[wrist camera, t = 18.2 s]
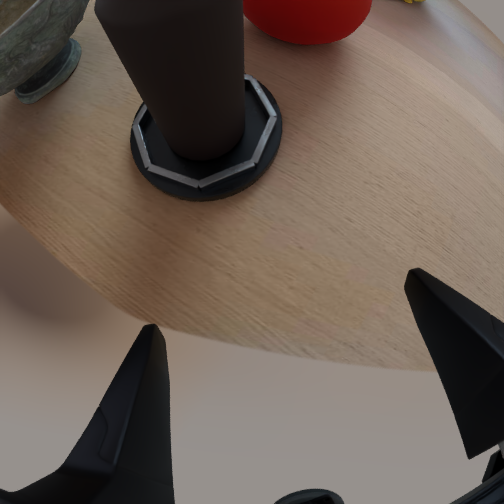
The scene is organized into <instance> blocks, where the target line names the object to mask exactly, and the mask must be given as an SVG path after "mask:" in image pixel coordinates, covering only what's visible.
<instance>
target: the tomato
mask: <svg viewBox="0 0 504 504" xmlns="http://www.w3.org/2000/svg"><path fill="white" fill-rule="evenodd" d="M371 4H372V0H243V13H244V15H245V16H246V17H247V18H248V19H249V20H250V21H251V22H252V23H253V24H254V25H256V26H257V27H258V28H259V29H261V30H262V31H263V32H265V33H267V34H269V35H270V36H272V37H275V38H277V39H280V40H283V41H287V42H290V43H295V44H302V45H315V44H324V43H331V42H335V41H338V40H341V39H343V38H345V37H347V36H348V35H350V34H351V33H353V32H354V31H355V30H356V29H357V28H358V27H359V26H360V25H361V24H362V22H363V21H364V20H365V19H366V17H367V15H368V13H369V11H370V8H371Z"/></svg>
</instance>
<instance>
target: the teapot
mask: <svg viewBox="0 0 504 504" xmlns="http://www.w3.org/2000/svg"><path fill="white" fill-rule="evenodd" d="M403 1H405V2H407V3H412V0H403ZM414 1H417V2H422V1H425V0H414Z"/></svg>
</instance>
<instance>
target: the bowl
mask: <svg viewBox="0 0 504 504" xmlns="http://www.w3.org/2000/svg"><path fill="white" fill-rule="evenodd" d="M88 2H89V0H0V96H2V95H4V94H6V93H8V92H10V91H11V90H13V89H15V94H16V96H17V98H18V99H19V100H20V101H21V102H22V103H25V104H30V103H34V102H36V101H38V100H39V99H40V98H42V97H43V96H45V95H46V94H48V93H49V92H50V91H52V90H53V89H55V88H56V87H57V86H59V85H60V84H62V83H63V82H64V81H65V80H66V79H67V78H68V77H69V76H70V74H71V73H72V72H73V70H74V69H75V67H76V65H77V63H78V61H79V58H80V55H81V46H80V45H79V43H78V42H77V41H76V40H74V39H71V38H70V36H71V35H72V34H73V33H74V31H75V29H76V27H77V25H78V24H79V23H80V22H81V21H82V19H83V15H84V12H85V10H86V7H87V5H88Z"/></svg>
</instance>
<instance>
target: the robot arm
mask: <svg viewBox="0 0 504 504" xmlns="http://www.w3.org/2000/svg"><path fill="white" fill-rule="evenodd" d="M404 290H405V293H406V296H407V298H408V301H409V304H410V307H411V309H412V312H413V315H414V318H415V321H416V323H417V326H418V328H419V330H420V333H421V335H422V337H423V339H424V341H425V344H426V346H427V348H428V350H429V353H430V355H431V357H432V360H433V362H434V364H435V367H436V369H437V372H438V374H439V376H440V379H441V381H442V384H443V386H444V389H445V392H446V394H447V397H448V399H449V402H450V405H451V408H452V410H453V413H454V415H455V420H456V422H457V425H458V428H459V431H460V434H461V438H462V440H463V444H464V447H465V450H466V454H467V457H468V459H472V458H473V457H475V456H477V455H479V454H481V453H483V452H485V451H486V450H488V449H490V448H492V447H493V446H495V445H497V444H498V445H499V448H500V449H499V450H498V451H497V452H495V453H494V454H492V455H491V457H490V460H489V463H488V466H487V468H486V471H485V474H484V477H483V479H482V484H481V485H479V486H478V487H476V488H475V489H473V490H472V491H470V492H469V493H467V494H465V495H464V496H462V497H460V498H459V499H457V500H455V501H454V502H452V503H450V504H504V323H503V322H502V321H500V320H499V319H497V318H496V317H494V316H493V315H491V314H490V313H489V312H487V311H486V310H484V309H483V308H481V307H480V306H478V305H477V304H475V303H474V302H472V301H471V300H469V299H468V298H466V297H465V296H463V295H462V294H460V293H459V292H457V291H456V290H454V289H453V288H451V287H450V286H448V285H446V284H445V283H443V282H442V281H440V280H439V279H437V278H435V277H434V276H432V275H431V274H429V273H427V272H426V271H424V270H422V269H421V268H414V269H411V270H409V271H408V274H407V278H406V281H405V285H404ZM99 406H100V407H98V408H97V410H96V412H95V413H94V415H93V417H92V419H91V421H90V422H89V424H88V426H87V428H86V429H85V431H84V432H83V434H82V436H81V437H80V439H79V440H78V442H77V443H76V445H75V447H74V448H73V450H72V451H71V453H70V454H69V456H68V457H67V459H66V460H65V462H64V463H63V464H62V465H61V466H60V467H59V468H58V469H57V470H56V471H55V472H53V473H51V474H50V475H48V476H46V477H44V478H42V479H40V480H38V481H36V482H34V483H32V484H30V485H29V486H27V487H25V488H23V489H21V490H18V491H15V492H8V491H5V490H3V489H0V504H175V500H174V488H173V476H172V459H171V436H170V435H171V433H170V381H169V372H168V362H167V352H166V342H165V339H164V336H163V335H162V333H161V331H160V330H159V328H158V326H157V325H156V324H148V325H145V326H143V328H142V330H141V331H140V333H139V335H138V336H137V338H136V340H135V342H134V343H133V345H132V347H131V348H130V350H129V352H128V354H127V355H126V357H125V359H124V361H123V362H122V364H121V366H120V368H119V370H118V371H117V373H116V375H115V377H114V378H113V380H112V382H111V384H110V386H109V388H108V389H107V391H106V393H105V395H104V397H103V399H102V401H101V402H100V404H99ZM326 498H327V499H326ZM301 504H335V502H334V500H333V498H332V496H331V495H330V494H325V495H322V496H319V497H317V498H314V499H312V500H309V501H306V502H303V503H301Z"/></svg>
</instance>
